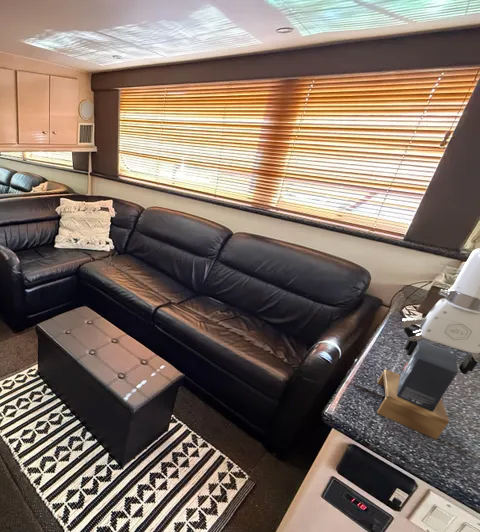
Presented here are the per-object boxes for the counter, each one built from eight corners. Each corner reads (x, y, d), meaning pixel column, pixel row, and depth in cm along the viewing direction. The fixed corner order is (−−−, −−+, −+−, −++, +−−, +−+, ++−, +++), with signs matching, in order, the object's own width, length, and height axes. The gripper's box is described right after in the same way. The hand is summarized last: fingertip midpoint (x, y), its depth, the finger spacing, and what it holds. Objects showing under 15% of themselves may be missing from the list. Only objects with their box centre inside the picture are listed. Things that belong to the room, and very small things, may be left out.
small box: (398, 374, 89) (419, 339, 85) (432, 389, 85) (456, 352, 80) (395, 395, 81) (418, 357, 76) (432, 413, 76) (459, 373, 72)
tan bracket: (427, 406, 87) (438, 389, 85) (436, 439, 76) (449, 421, 74) (375, 385, 94) (384, 368, 91) (377, 413, 83) (387, 395, 81)
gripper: (421, 293, 75) (389, 352, 82) (537, 322, 65) (490, 387, 71) (417, 284, 81) (387, 340, 87) (523, 310, 71) (481, 371, 77)
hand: (434, 361), depth 79 cm, fingers open, 9 cm apart
